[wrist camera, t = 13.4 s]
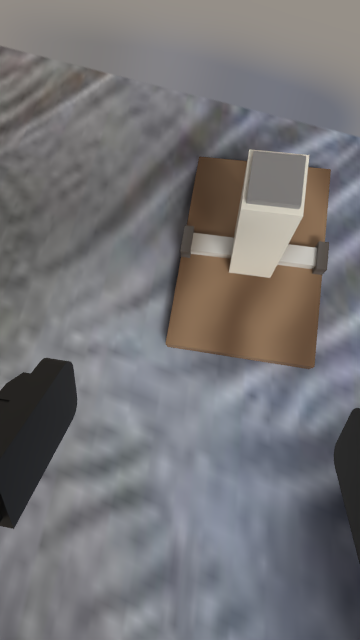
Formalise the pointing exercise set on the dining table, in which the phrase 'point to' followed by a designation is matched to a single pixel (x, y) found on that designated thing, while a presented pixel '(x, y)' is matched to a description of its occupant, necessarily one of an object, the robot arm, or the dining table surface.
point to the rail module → (268, 210)
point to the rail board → (248, 276)
